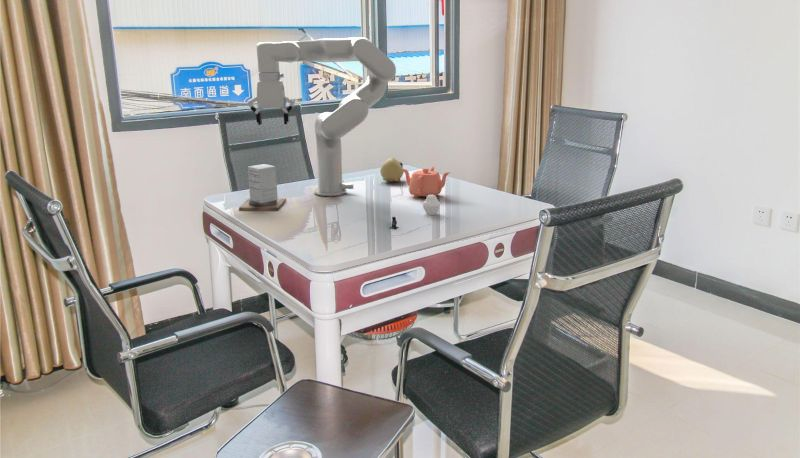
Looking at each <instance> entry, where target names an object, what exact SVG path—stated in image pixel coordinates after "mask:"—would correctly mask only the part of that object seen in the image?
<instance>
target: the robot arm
mask: <svg viewBox="0 0 800 458" xmlns="http://www.w3.org/2000/svg"><path fill="white" fill-rule="evenodd" d="M256 57H257V69H258V81H257V83H256V84H257V85H256V97H254V98H252V99H251V100H249V101H248V102H247V105H248V106H249V108H250V110H251V111H252V112H253V113H254V114H255V117H256V118H255V119H256V123H257V124H258V125H259V126H260V125H262V123H263V122H262V113H261V111H262V110H274V109H281V110H282V111H283V124H284V125H288V122H289V121H290V120H289V119H290V118H289V112H291V110H292V109H294V105H295V104H296V101H295V100H293V99H291V98H289V97H287V96H286V91H285V86H284V82H283V80H281V79H282V78H285V77H284V75H285V74H284V73H281V72H280V62H281V63H291V64H292V63H295V62H318V63H342V62H343V63H344V62H347V63H348V62H359V63H360V64H361V65H363V66H364V68H366V69H367V79H366V81H365V82H364V83H363V84H362V85H361V86H360V87H358V88H357V89H356V90H354V91H353V92H352V93H350V94H349V95H347V96H346V97H344V98H343V99H342V100H341V101H340V103H338V104H339V105H338V108H336V109H335V110H334V111H333V112H330V111H325V112H322V113H320V114H318V116H317V117H316V118H315V122H314V133H315V140H316V161H317V162H316V163H317V165H316V166H317V185H318V186H317V188H316V189H314V194H315V195H317V196H323V197H336V196H343V195H345V194H347V190H354V184H353V183H345V182H344V181H345V180H344V179H343V168H342V166H343V165H342V164H343V163H342V140H341V138H342V137H343V138H344V136H346V135H347V134H348V133H350V132H351V131H353V130H354V129H356V128H357V127H358V126H359V125H360V124H362V123H363V122H364V121H365V120H366V118H367V117H368V114H369V109H370V108H372V107H373V106H375V104H377V103H378V102H379V101H380V100H381V99H382V98H383V96H384V95H385V92H386V90H387V86H388V82H389V81H392V80H393V79H394V78H395V76H396V73H397V68H396V64H395V63H394V61H393V60H392V59H391V58H389V56H388V55H386V54H385V53H384V52H383V51H382V50H381V49H380V48H378V47H377V46H376V45H375V44H374V43H373V42H372V41H371V40H370V39H368V38H366V37H342V38H341V37H340V38H339V37H338V38H334V37H333V38H319V39H315V40H313V39H312V40H299V41H298V40H294V41H291V40H290V41H289V40H286V41H281V42H274V41H273V42H272V41H266V42H265V41H264V42H263V41H262V42H258V43H257V45H256ZM287 102H288V103H289V106H288V107H287V106H286V105H287ZM254 103H256V106H257V107H255V105H254Z"/></svg>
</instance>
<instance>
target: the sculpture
mask: <svg viewBox="0 0 800 458" xmlns="http://www.w3.org/2000/svg"><path fill="white" fill-rule="evenodd" d="M397 223H398V222H397V217H396V216H392V217H391V226H389V227H388V230H398V229H399V226H397Z"/></svg>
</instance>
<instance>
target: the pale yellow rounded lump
mask: <svg viewBox="0 0 800 458" xmlns="http://www.w3.org/2000/svg"><path fill="white" fill-rule="evenodd" d="M402 169H404V166H403V163H402V162H400V161H399V160H397V159H396V158H394V157H390V158H388V159H387V160H386V161H384V163H383V164H382V166H381V168H380V169H379V170H380V175H381V177H382V180H383V182H384V181H385V182H400V181H401V178H402V177H403V176H404V174H405V172H404V171H403V170H402Z"/></svg>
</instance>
